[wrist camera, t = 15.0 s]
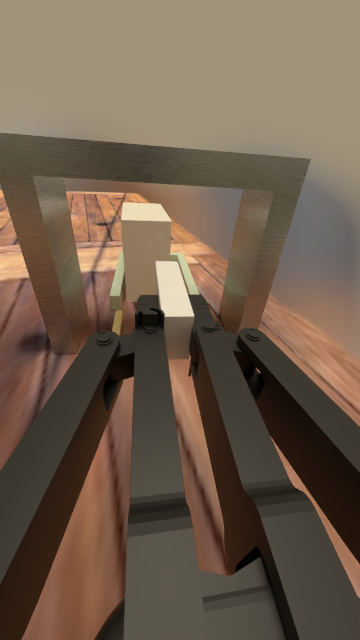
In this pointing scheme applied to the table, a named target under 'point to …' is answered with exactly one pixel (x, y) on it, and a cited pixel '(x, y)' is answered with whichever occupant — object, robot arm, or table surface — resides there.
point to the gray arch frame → (147, 167)
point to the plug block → (143, 246)
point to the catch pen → (119, 279)
